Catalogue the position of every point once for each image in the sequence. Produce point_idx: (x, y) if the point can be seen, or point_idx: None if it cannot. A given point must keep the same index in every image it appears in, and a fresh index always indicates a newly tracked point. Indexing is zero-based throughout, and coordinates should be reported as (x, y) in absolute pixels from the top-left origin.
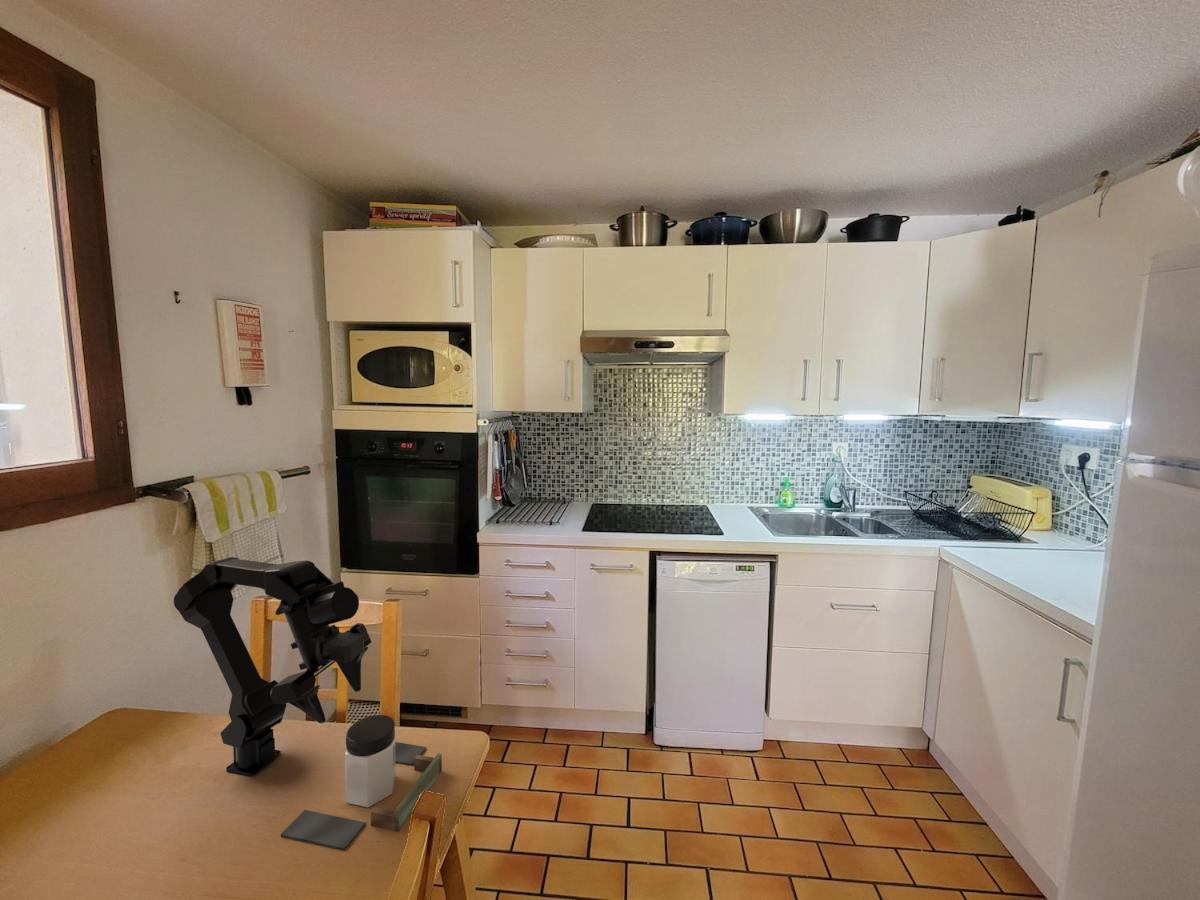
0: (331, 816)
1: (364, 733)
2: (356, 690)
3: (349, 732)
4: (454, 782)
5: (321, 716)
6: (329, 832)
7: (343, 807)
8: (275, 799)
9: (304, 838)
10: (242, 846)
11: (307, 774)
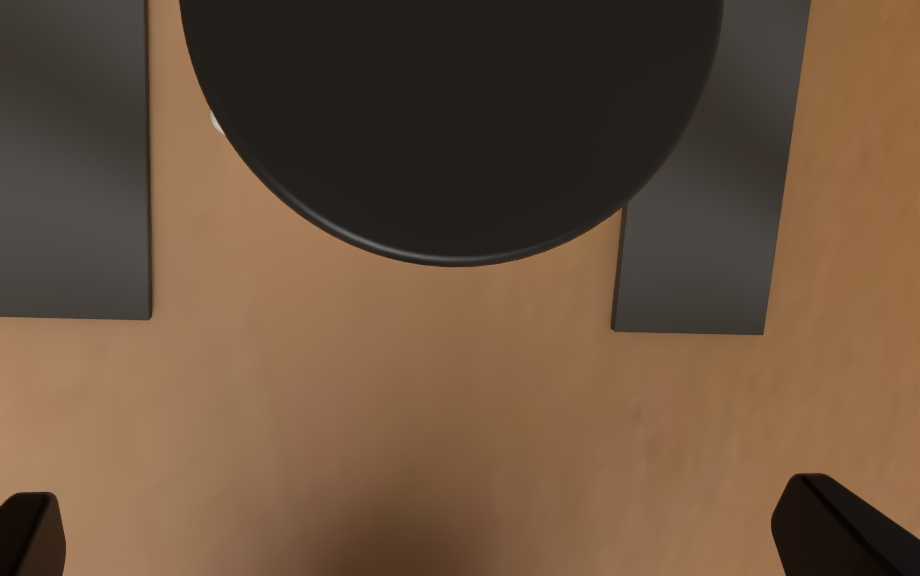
0: None
1: (567, 17)
2: (55, 548)
3: (578, 205)
4: None
5: (906, 536)
6: (735, 92)
7: None
8: (553, 536)
9: (776, 199)
10: (814, 457)
11: (363, 514)
